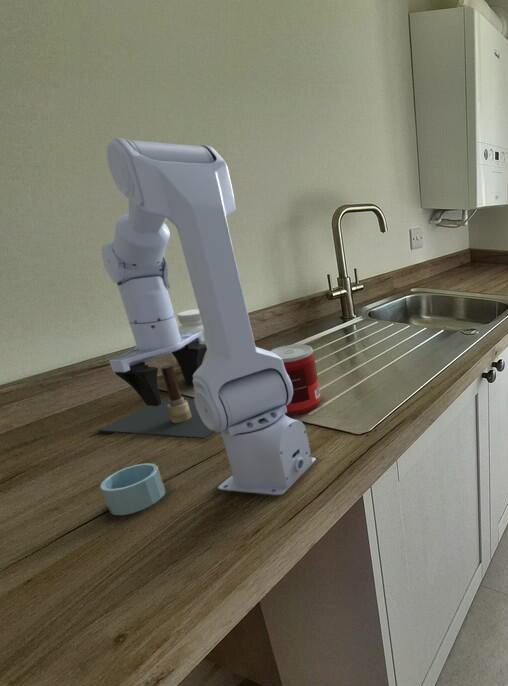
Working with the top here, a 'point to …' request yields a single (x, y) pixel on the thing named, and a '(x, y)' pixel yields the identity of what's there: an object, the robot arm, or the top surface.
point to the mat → (160, 422)
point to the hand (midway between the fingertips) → (175, 394)
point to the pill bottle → (192, 325)
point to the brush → (175, 397)
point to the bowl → (133, 489)
